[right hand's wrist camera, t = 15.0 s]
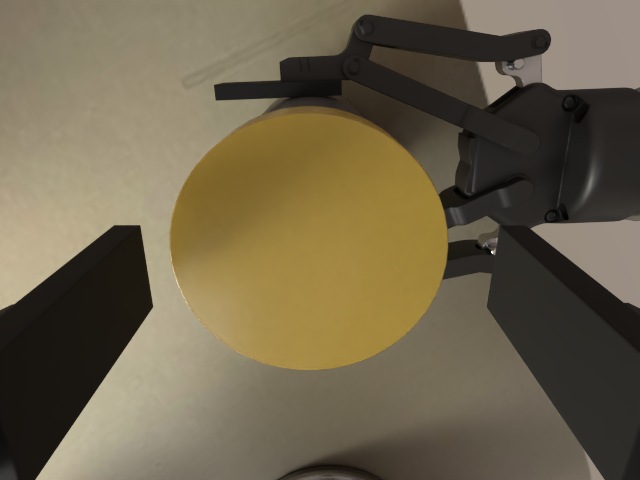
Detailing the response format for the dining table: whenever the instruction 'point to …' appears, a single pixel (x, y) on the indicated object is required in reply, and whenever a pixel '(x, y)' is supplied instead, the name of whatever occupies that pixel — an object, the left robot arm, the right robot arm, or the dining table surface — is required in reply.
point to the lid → (308, 239)
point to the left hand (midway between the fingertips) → (229, 171)
